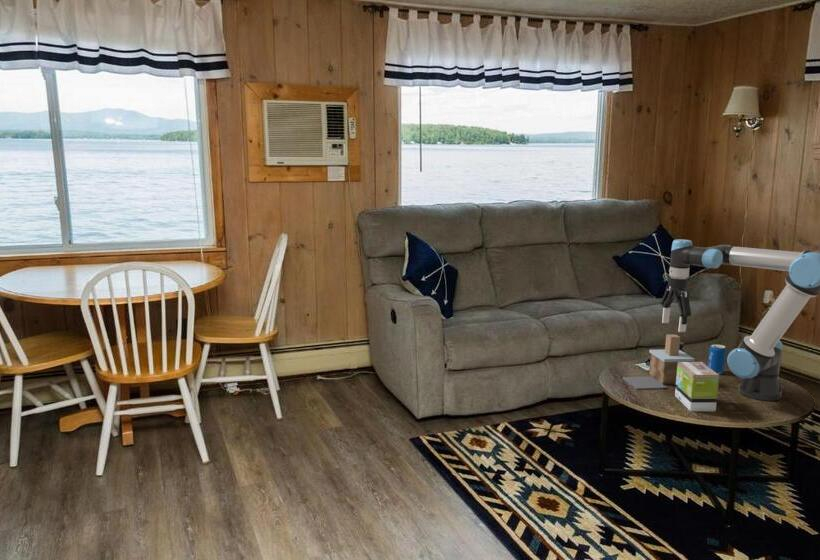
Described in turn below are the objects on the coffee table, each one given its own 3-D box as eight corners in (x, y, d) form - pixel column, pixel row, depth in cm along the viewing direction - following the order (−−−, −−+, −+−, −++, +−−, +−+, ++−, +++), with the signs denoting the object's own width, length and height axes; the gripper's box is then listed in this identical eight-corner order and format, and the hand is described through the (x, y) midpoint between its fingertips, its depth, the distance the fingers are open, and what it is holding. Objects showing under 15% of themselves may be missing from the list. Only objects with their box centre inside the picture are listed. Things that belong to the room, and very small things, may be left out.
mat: (666, 388, 262) (667, 387, 262) (636, 389, 261) (636, 388, 261) (651, 377, 275) (651, 376, 275) (622, 378, 273) (622, 377, 273)
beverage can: (704, 370, 285) (706, 344, 282) (716, 369, 286) (719, 343, 284) (714, 375, 279) (716, 348, 276) (726, 374, 280) (729, 347, 278)
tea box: (673, 396, 254) (676, 360, 251) (699, 397, 254) (702, 361, 251) (689, 411, 239) (693, 373, 236) (716, 412, 239) (720, 374, 236)
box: (690, 383, 268) (692, 360, 266) (662, 384, 266) (664, 361, 265) (675, 374, 279) (677, 352, 278) (649, 374, 278) (650, 352, 276)
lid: (693, 363, 266) (696, 339, 264) (664, 364, 264) (666, 340, 262) (677, 353, 278) (680, 331, 276) (649, 354, 277) (651, 331, 275)
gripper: (655, 271, 276) (650, 319, 280) (685, 283, 252) (680, 335, 256) (671, 271, 277) (667, 319, 281) (703, 283, 253) (698, 335, 257)
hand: (673, 327), depth 269 cm, fingers open, 13 cm apart
